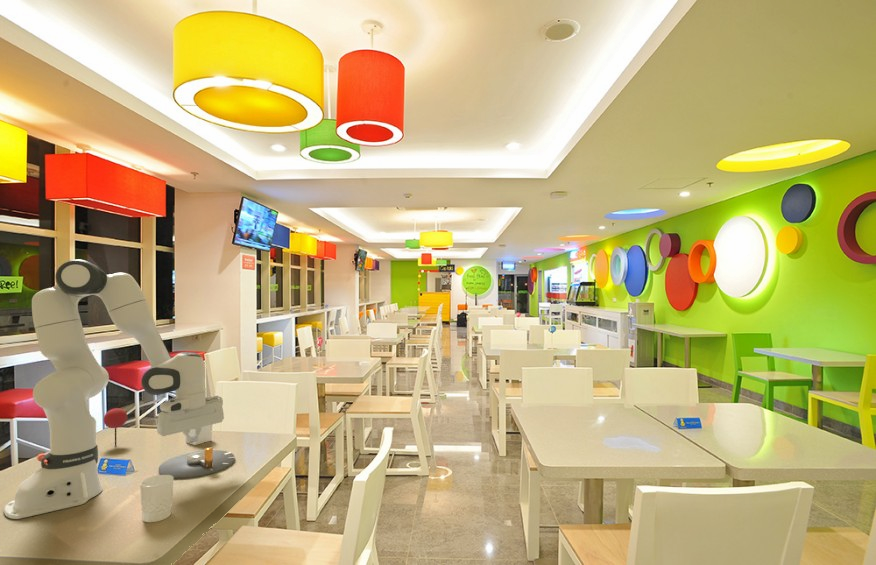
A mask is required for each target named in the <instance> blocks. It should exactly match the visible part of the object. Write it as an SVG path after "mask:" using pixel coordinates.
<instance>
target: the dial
mask: <svg viewBox="0 0 876 565" xmlns="http://www.w3.org/2000/svg"><path fill="white" fill-rule="evenodd" d="M213 450H214V449H213V447H205V448H204V450H203V451H204V452H198V451H196V452H197V453H192V452H191V453H192V454H190V455H188V456H187V464H190V465H195V464H202V465H204V467H205V468H209V467H212V466H213Z"/></svg>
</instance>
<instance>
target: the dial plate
mask: <svg viewBox="0 0 876 565" xmlns="http://www.w3.org/2000/svg"><path fill="white" fill-rule="evenodd" d="M197 452H204V450H200V451H199V450H198V451H193V452H187V453H184V454H180V455H176V456H174V457H172V458H169V459H167V460H165V461H163V462H162V463H161V464H159V466H158V475H171V476H173V477H174V479H176V480H186V479H194V478H200V477H205V476H209V475H213V474H217V473H219V472H221V471H224V470H226V469H227V468H229V467H231V466H232V465H233V464H234V462H235V455H234V453H232V452H231V451H226V450H221V449H220V450H218V449H217V450H215V449H213V466H212V467H209V468H205V467H204V465H202V464H195V465H190V464H187V456H188V455H190V454H192V453H197ZM174 479H173V480H174Z"/></svg>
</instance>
